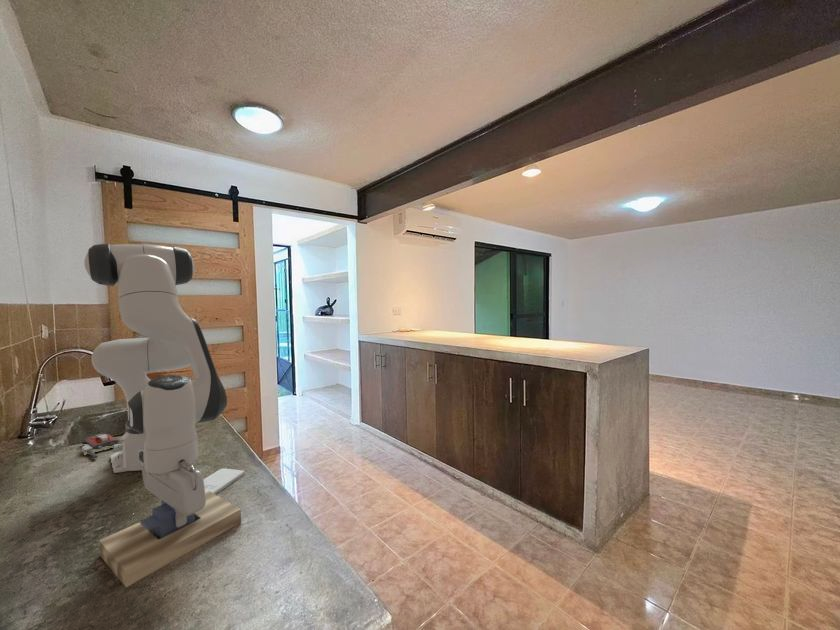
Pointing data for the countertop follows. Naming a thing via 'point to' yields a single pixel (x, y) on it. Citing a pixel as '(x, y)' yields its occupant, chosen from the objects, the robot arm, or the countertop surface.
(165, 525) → the block
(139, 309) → the robot arm
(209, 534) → the wooden board with hole
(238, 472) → the external hard drive
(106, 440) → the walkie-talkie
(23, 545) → the countertop surface
